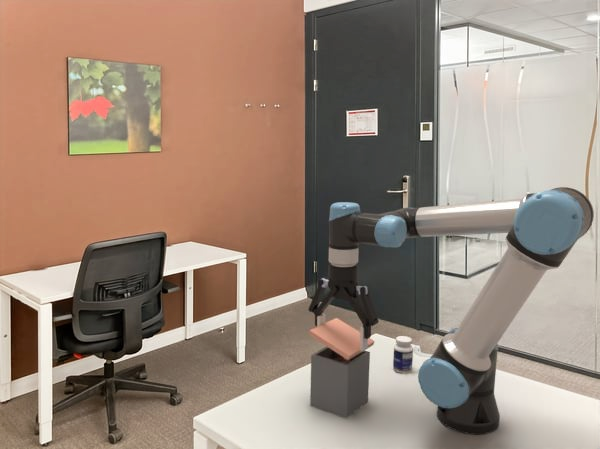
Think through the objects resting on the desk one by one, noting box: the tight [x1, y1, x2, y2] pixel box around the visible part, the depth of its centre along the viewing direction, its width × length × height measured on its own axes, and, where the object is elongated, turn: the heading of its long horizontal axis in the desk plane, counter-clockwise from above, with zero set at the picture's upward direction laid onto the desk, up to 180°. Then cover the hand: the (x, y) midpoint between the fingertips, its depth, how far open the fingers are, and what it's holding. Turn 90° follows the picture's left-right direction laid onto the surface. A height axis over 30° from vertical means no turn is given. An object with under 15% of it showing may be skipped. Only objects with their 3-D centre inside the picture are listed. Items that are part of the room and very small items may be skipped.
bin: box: [309, 346, 371, 419], centre depth 148 cm, size 11×11×14 cm
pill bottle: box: [392, 335, 414, 374], centre depth 170 cm, size 6×6×10 cm
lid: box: [308, 317, 375, 360], centre depth 146 cm, size 13×13×2 cm
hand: (341, 344), depth 146 cm, fingers closed on lid, 12 cm apart
